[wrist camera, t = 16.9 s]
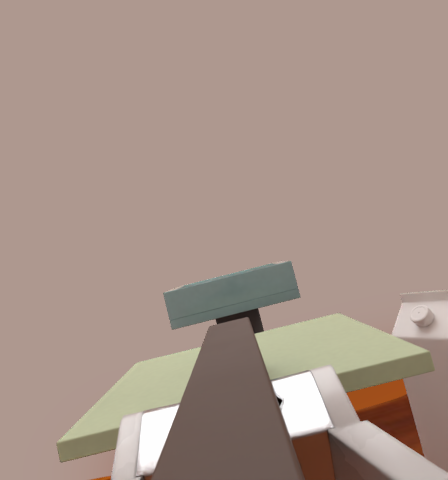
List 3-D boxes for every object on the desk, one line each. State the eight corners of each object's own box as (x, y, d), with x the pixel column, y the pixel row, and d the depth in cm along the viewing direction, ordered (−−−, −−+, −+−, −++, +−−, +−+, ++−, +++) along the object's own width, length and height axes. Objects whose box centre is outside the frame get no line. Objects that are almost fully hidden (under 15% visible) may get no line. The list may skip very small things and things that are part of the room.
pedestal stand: (327, 453, 52) (277, 261, 54) (356, 509, 40) (291, 260, 42) (224, 479, 52) (178, 286, 54) (222, 542, 40) (162, 292, 42)
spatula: (342, 323, 28) (330, 279, 28) (1011, 660, 4) (896, 344, 4) (138, 374, 28) (128, 329, 28) (-422, 1010, 4) (-458, 676, 4)
